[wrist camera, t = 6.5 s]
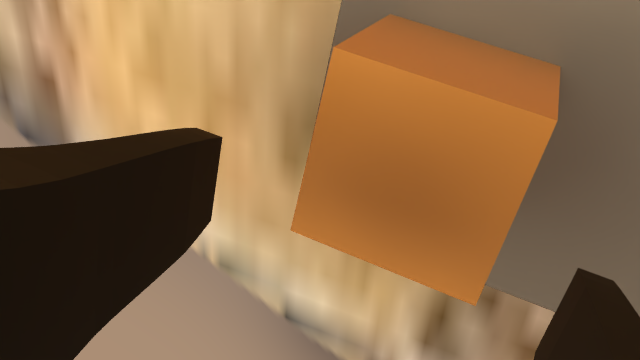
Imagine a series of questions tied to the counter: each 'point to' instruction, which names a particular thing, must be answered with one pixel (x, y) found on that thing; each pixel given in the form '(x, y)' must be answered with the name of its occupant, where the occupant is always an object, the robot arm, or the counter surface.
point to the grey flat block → (558, 134)
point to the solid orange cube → (425, 151)
